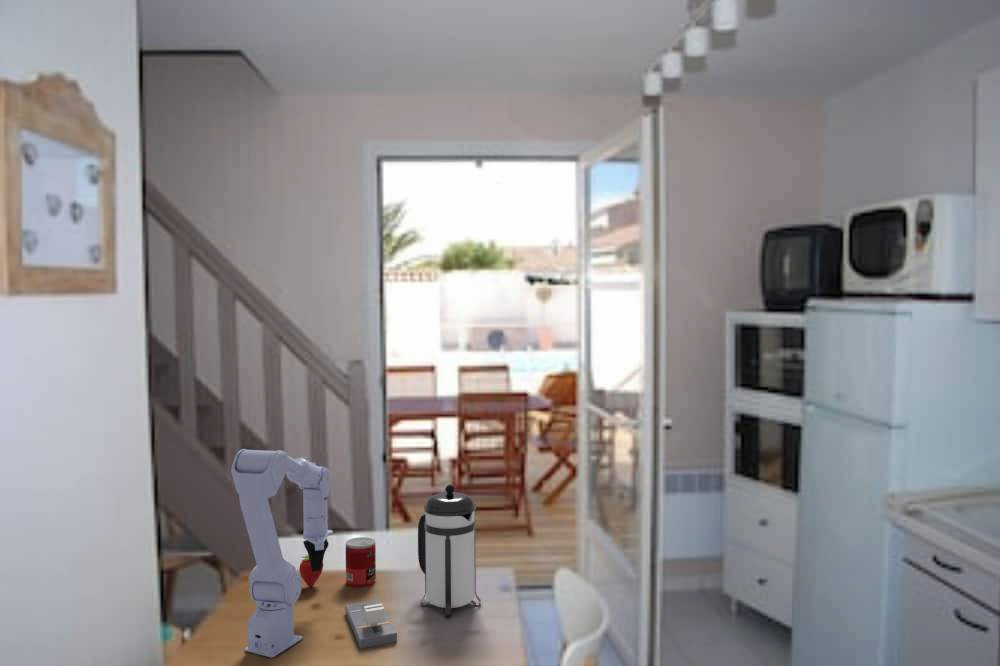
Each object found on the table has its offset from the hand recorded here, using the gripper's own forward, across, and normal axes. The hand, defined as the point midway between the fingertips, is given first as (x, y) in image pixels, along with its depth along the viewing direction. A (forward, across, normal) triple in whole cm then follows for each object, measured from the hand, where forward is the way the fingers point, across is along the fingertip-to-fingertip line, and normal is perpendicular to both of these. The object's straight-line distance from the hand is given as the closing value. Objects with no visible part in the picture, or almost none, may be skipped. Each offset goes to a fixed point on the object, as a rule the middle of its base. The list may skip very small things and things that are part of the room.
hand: (316, 570), depth 166 cm
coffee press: (+10, -10, -30) cm, 33 cm away
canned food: (+10, +12, -13) cm, 20 cm away
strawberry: (+10, +14, 0) cm, 17 cm away
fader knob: (+7, -20, -10) cm, 23 cm away
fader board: (+9, -15, -10) cm, 21 cm away
